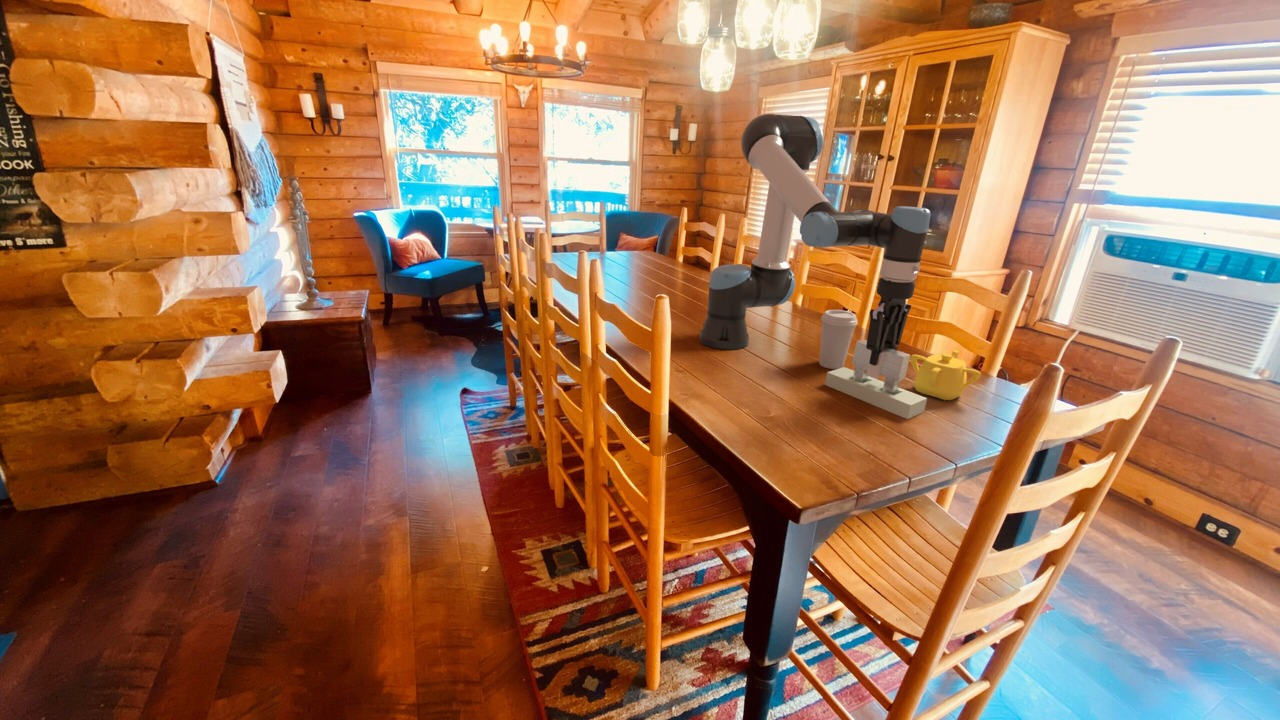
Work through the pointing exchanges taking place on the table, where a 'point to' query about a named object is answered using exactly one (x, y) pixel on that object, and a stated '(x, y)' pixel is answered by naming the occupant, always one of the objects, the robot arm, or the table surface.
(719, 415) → the table surface
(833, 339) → the coffee cup
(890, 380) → the grey piece
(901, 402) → the rail
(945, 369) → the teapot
